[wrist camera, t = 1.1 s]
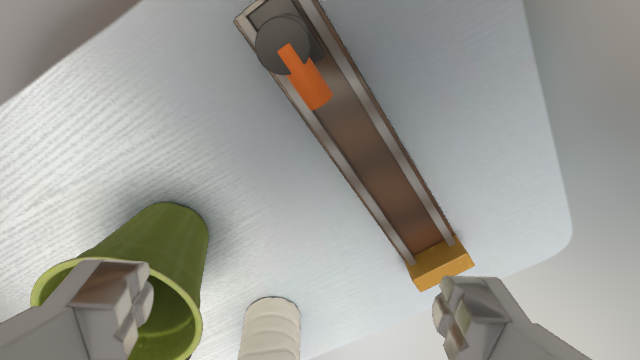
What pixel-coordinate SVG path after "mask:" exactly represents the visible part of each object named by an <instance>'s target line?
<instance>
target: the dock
mask: <svg viewBox="0 0 640 360" xmlns="http://www.w3.org/2000/svg"><path fill="white" fill-rule="evenodd" d="M452 237H453V238H454V240H455V242H456V244H454V245H452V246H450V247H449V246H448V244H447V243H446V241H445V240H444V241H442V242H440V243H438V244H436V245H434V246H432V247H430V248H428V249H426V250H424V251H422V252H420V253H419V254H417V255H415V256H414V257H415V259H416V261H417V263H416V264H415V265H413V266H410V265H409V264H408V262H407V261H406V260H405V261H404V262H405V264H406V267H407V269H408V272H409V274H410V277H411V279H412V281H413V283H414V284H415V285H416V287H417V288H418V290H419V291H420V292H422V291H424V290H426V289H429V288H431V287H433V286H435V285H437V284H439V283H440V282H441V279H442V278H443V277H444V276H455V275H457V274H459V273H461V272H463V271H465V270H467V269H469V268H471V267H474V266H475V264H474V263H473V261H472V259H471V257H470V256H469V254H468V252H467V251H466V249H465V248H464V246H463V245H462V243H461V242H460V240H459V239H458V238H457V236H456V235H453V236H452Z"/></svg>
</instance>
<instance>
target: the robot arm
mask: <svg viewBox="0 0 640 360" xmlns="http://www.w3.org/2000/svg"><path fill="white" fill-rule="evenodd" d="M149 275H150V268H149V264H148V263H147V262H144V261H130V260H115V259H95V258H86V259H83V260H81V261H80V262H79V263H78V264H77V265H76V267H75V268H74V269H73V270H72V271H71V272H70V273H69V274H68V276H67V277H66V278H65V279H64V280H63V281H62V282H61V284H60V285H59V286H58V287H57V288H56V289H55V290H54V292H53V293H52V294H51V295H50V296H49V297H48V298H47V299H46V301H45V302H44V303H43V304H42V305H41V306H33V307H31V308H29V309H27V310H25V311H23V312H21V313H19V314H17V315H16V316H14V317H12V318H10V319H8V320H6V321H4V322H2V323H0V360H127V359H128V357H129V355H130V353H131V351H132V349H133V347H134V345H135V343H136V341H137V339H138V337H139V336H138V331H137V328H138V327H140V326H141V325H143V324H144V323H145V322H146V321H147V319H148V317H149V315H150V312H151V309H152V305H153V298H154V291H153V286H152V285H151V284H150V283H149V282H148V281H147V279H148V277H149ZM439 287H440V289H441V291H442V292H441V293H440V294H439V295H437V296H436V297H435V299H434V303H433V306H432V316H433V320H434V324H435V327H436V329H437V332H439V333H440V334H441V335H442V336H443V337H444V338H445V341H444V344H443V347H444V349H445V351H446V354H447V356H448V358H449V360H592V359H590V358H589V357H587V356H586V355H584V354H582V353H581V352H580V351H578V350H576V349H575V348H573V347H572V346H570V345H569V344H568V343H566V342H565V341H563V340H561V339H560V338H558V337H557V336H555V335H554V334H553V333H551V332H550V331H548V330H547V329H545V328H544V327H542V326H541V325H539V324H536V323H535V324H534V323H532V322H531V321H530V320H529V318H528V317H527V316H526V314H525V313H524V312H523V310H522V309H521V307H520V306H519V305H518V303H517V302H516V300H515V299H514V298H513V296H512V295H511V293H510V292H509V291H508V289H507V288H506V287H505V285H504V284H503V282H502V281H501V280H500V279H498V278H497V277H471V276H444V277H443V278H442V279H441V282H440V285H439Z"/></svg>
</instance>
